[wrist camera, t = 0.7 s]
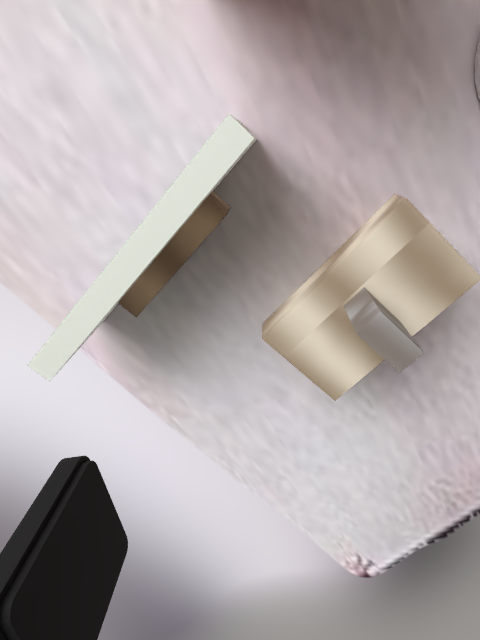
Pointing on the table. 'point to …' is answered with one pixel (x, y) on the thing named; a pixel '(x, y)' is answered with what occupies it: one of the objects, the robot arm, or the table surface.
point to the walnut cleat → (175, 253)
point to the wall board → (146, 243)
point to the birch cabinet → (370, 300)
